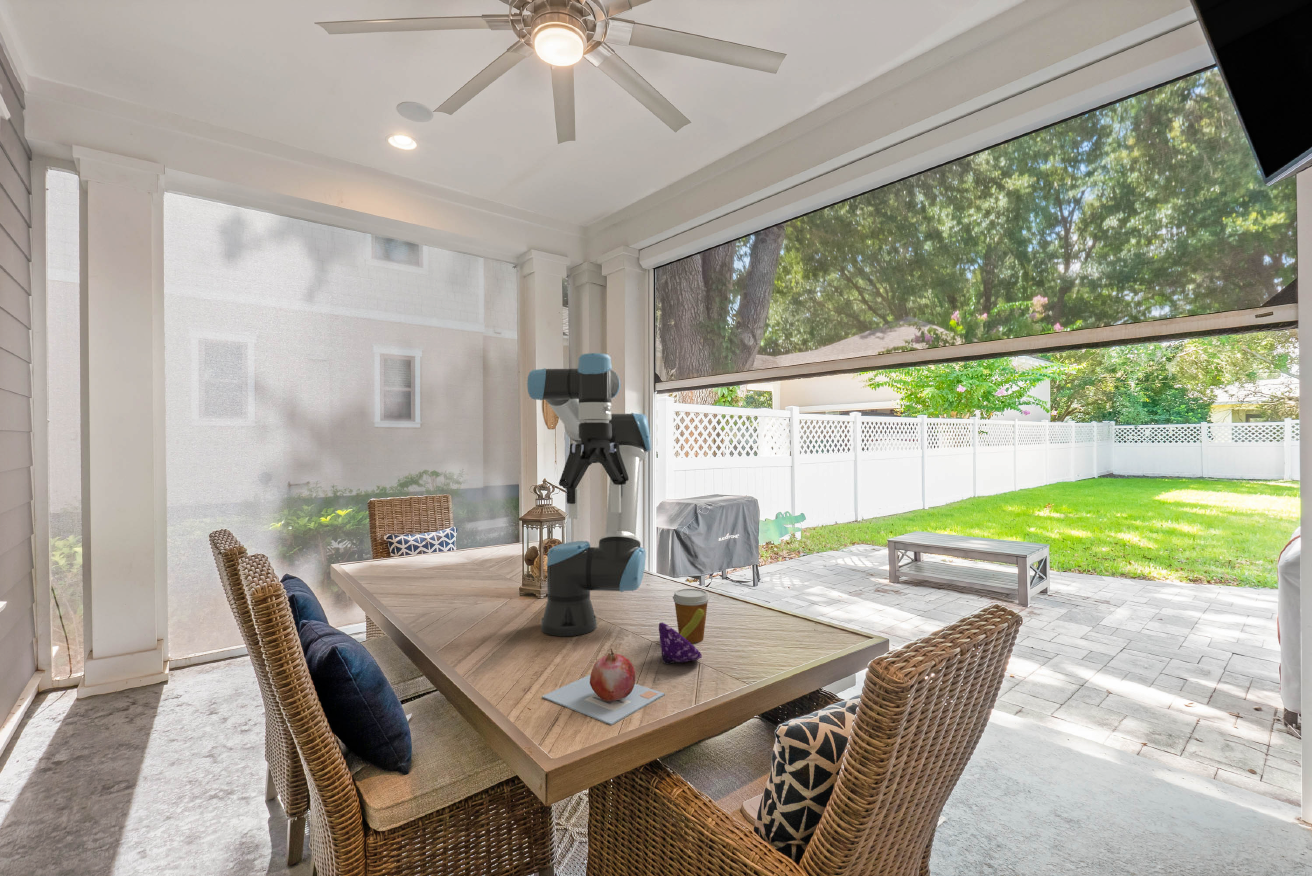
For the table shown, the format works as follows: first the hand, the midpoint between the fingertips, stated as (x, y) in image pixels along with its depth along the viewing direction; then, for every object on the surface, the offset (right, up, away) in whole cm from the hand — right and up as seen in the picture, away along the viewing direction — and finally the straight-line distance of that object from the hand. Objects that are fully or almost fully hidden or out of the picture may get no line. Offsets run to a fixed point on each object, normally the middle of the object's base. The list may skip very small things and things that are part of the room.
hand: (595, 515), depth 136 cm
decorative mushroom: (+25, -23, +6) cm, 35 cm away
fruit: (+5, -35, -17) cm, 39 cm away
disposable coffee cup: (+23, -35, +19) cm, 46 cm away
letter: (+3, -35, -15) cm, 38 cm away
